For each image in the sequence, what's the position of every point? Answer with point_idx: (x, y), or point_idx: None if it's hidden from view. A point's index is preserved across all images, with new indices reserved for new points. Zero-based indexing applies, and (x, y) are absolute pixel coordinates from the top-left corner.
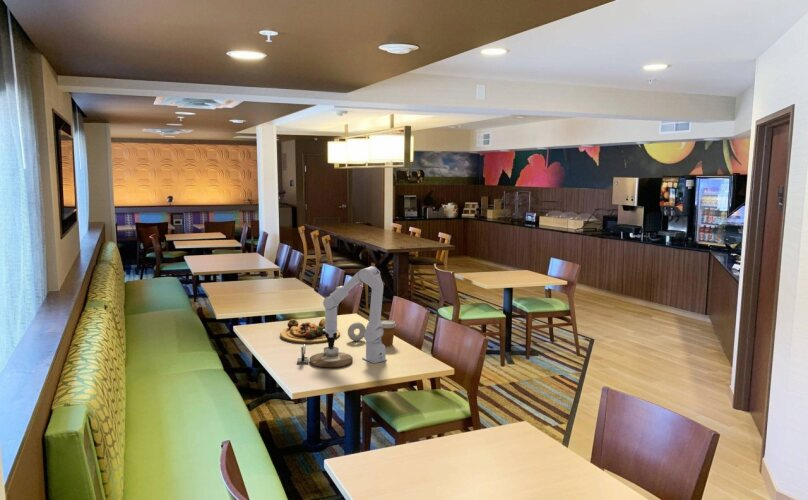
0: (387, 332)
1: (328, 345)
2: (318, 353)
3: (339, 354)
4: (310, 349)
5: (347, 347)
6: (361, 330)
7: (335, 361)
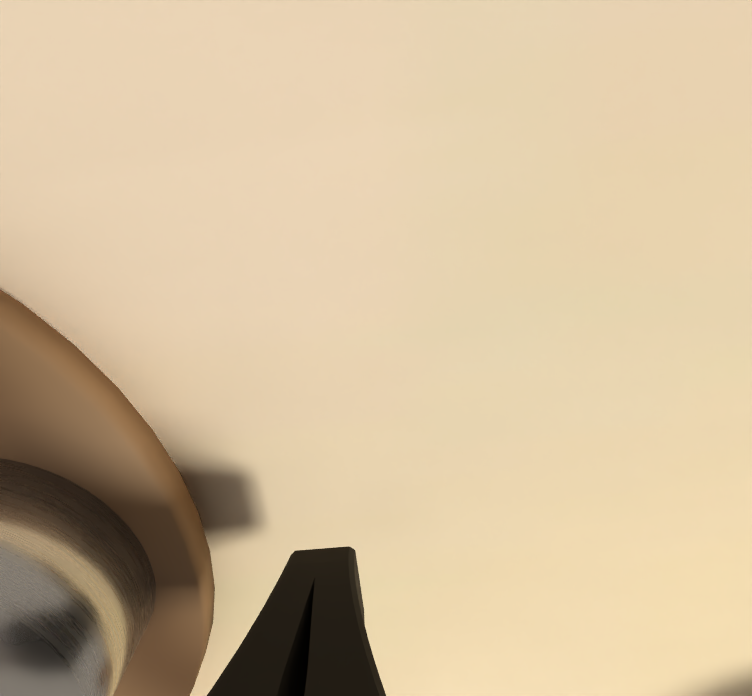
0: None
1: (272, 595)
2: (15, 342)
3: None
4: (603, 47)
5: (637, 679)
6: None
7: None
